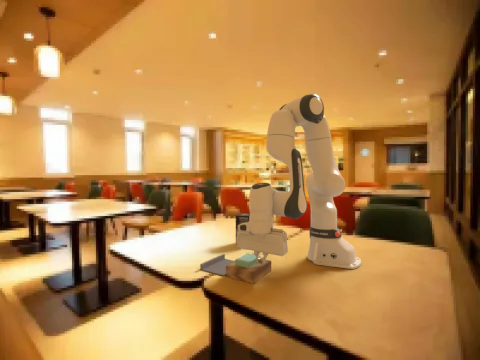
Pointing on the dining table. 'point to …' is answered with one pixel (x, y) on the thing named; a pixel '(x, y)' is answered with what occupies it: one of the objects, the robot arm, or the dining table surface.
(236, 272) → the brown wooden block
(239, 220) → the coffee box
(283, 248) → the robot arm
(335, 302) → the dining table surface
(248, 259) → the pale green rectangular block
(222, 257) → the tray
